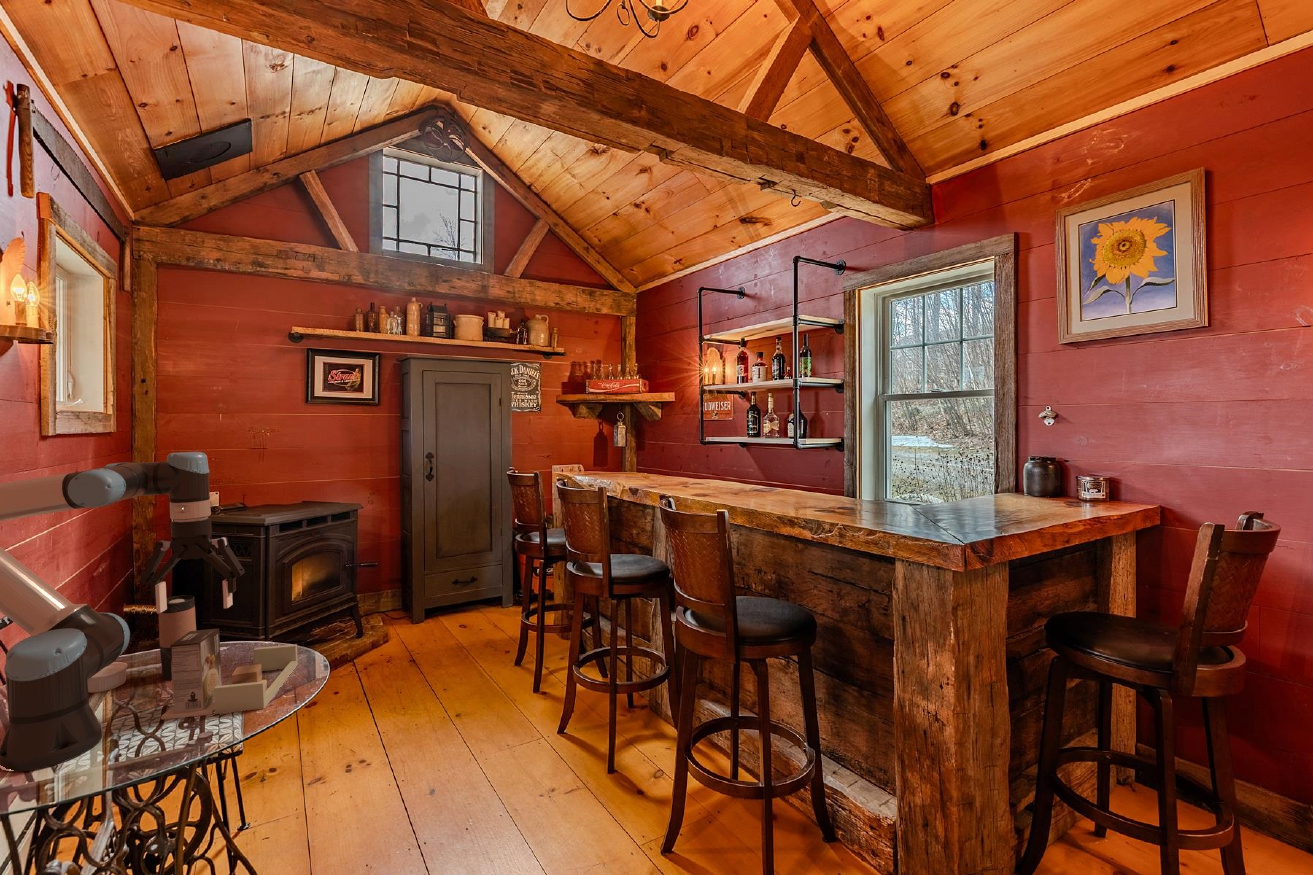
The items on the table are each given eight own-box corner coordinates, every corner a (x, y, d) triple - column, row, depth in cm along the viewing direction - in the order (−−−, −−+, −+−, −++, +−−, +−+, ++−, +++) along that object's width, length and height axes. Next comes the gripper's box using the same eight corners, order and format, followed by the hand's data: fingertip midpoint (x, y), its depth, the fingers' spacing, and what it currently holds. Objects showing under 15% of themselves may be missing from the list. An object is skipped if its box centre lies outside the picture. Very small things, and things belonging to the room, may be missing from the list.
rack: (214, 713, 140) (213, 688, 140) (256, 669, 164) (255, 647, 163) (263, 708, 143) (262, 683, 142) (297, 665, 166) (296, 644, 166)
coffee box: (192, 695, 148) (189, 629, 147) (223, 692, 149) (220, 627, 148) (172, 713, 139) (169, 644, 138) (204, 710, 140) (201, 641, 139)
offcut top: (232, 691, 143) (231, 675, 143) (237, 683, 147) (237, 667, 147) (257, 688, 145) (256, 671, 145) (261, 679, 149) (261, 663, 149)
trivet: (161, 719, 138) (161, 716, 138) (184, 698, 148) (183, 695, 148) (212, 714, 140) (212, 710, 140) (231, 694, 150) (231, 690, 150)
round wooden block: (131, 685, 155) (130, 668, 155) (83, 697, 148) (83, 680, 148) (124, 675, 161) (124, 659, 161) (78, 686, 154) (77, 670, 154)
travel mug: (203, 672, 162) (200, 597, 161) (168, 683, 156) (164, 606, 155) (190, 665, 166) (187, 593, 165) (156, 676, 160) (152, 600, 159)
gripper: (117, 524, 136) (123, 618, 137) (244, 519, 141) (248, 609, 142) (138, 518, 143) (143, 607, 144) (257, 513, 148) (261, 599, 150)
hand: (195, 608), depth 143 cm, fingers open, 13 cm apart
